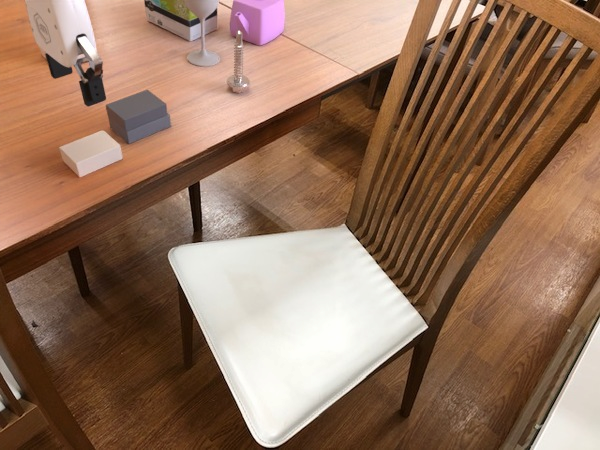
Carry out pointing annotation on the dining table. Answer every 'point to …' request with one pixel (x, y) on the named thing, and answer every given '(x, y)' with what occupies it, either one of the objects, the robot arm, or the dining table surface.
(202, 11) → the wineglass
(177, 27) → the tea box
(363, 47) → the dining table surface
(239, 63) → the screw
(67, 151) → the white block
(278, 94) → the dining table surface
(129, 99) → the grey stack
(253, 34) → the teapot
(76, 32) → the robot arm
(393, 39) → the dining table surface
